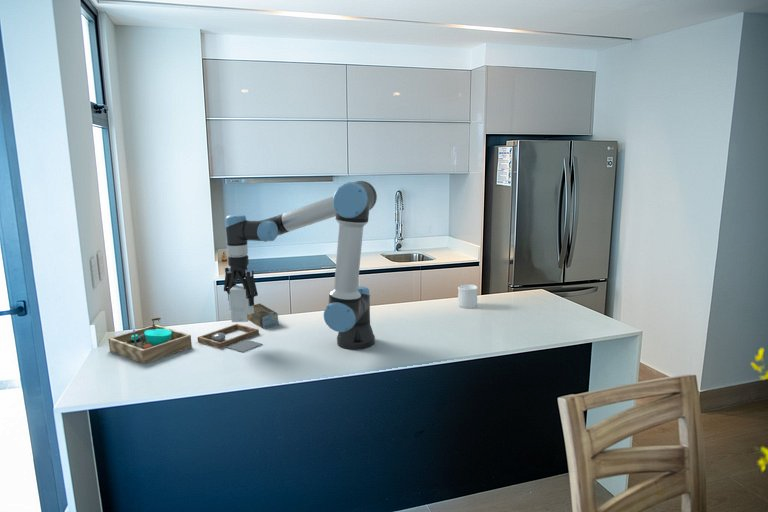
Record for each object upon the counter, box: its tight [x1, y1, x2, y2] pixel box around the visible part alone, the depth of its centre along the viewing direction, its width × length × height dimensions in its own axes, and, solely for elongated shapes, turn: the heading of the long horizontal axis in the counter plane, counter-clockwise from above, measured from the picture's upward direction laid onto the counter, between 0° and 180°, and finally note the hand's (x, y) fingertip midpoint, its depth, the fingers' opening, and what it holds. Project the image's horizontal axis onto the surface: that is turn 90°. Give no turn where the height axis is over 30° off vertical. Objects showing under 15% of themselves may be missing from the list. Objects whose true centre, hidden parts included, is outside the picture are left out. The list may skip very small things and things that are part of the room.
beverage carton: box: [248, 303, 279, 329], centre depth 237 cm, size 8×19×7 cm, turn 37°
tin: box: [211, 333, 227, 342], centre depth 213 cm, size 5×5×3 cm
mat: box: [225, 338, 263, 354], centre depth 207 cm, size 10×10×1 cm
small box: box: [230, 284, 252, 323], centre depth 204 cm, size 8×6×13 cm
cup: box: [457, 283, 479, 309], centre depth 256 cm, size 10×10×10 cm
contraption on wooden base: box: [125, 317, 172, 349], centre depth 204 cm, size 14×18×15 cm
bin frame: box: [197, 323, 260, 350], centre depth 217 cm, size 14×20×2 cm
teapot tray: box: [108, 324, 193, 365], centre depth 205 cm, size 24×20×5 cm
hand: (241, 311), depth 205 cm, fingers closed on small box, 10 cm apart
